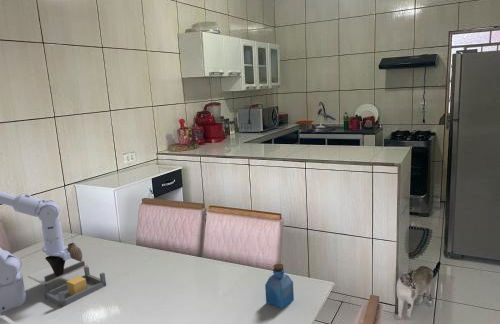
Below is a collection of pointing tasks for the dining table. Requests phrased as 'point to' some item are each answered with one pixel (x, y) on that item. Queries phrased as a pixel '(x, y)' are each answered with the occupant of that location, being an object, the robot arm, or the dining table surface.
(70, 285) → the block
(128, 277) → the dining table surface
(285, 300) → the perfume bottle
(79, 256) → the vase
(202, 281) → the dining table surface
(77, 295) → the case
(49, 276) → the lid
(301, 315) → the dining table surface
